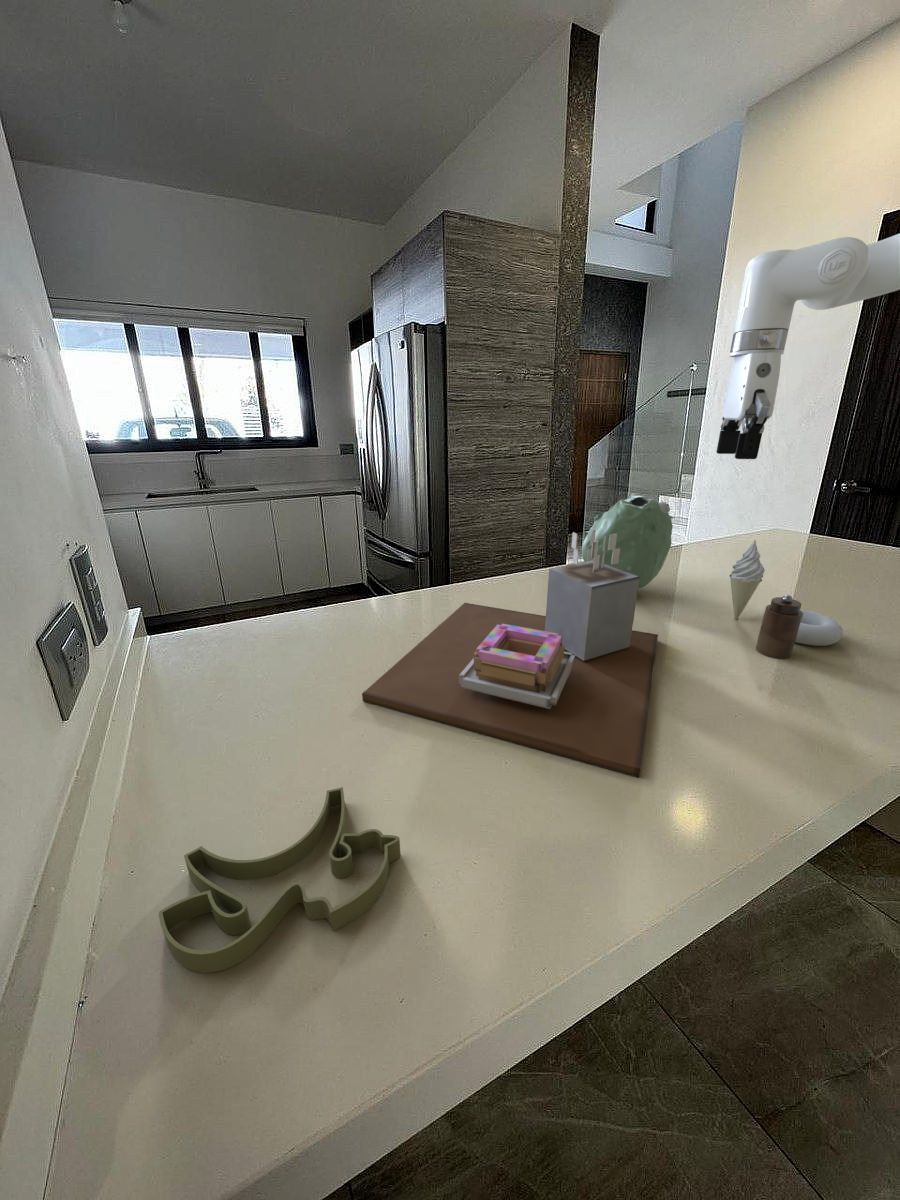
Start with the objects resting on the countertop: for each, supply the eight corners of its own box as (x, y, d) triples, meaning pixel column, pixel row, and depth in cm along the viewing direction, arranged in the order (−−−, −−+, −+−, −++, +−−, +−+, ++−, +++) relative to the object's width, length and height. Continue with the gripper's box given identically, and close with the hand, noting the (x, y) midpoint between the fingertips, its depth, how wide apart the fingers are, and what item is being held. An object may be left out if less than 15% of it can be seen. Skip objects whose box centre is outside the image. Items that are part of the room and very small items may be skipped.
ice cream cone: (757, 620, 87) (778, 540, 81) (741, 627, 85) (761, 544, 79) (730, 611, 91) (748, 534, 86) (714, 617, 89) (731, 538, 83)
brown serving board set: (638, 777, 51) (667, 612, 44) (362, 701, 64) (350, 565, 57) (656, 640, 80) (676, 528, 73) (464, 608, 94) (465, 511, 87)
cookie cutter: (360, 792, 49) (358, 777, 48) (418, 881, 40) (417, 864, 39) (160, 881, 40) (154, 864, 39) (174, 1024, 31) (166, 1005, 30)
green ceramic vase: (561, 587, 104) (569, 494, 97) (620, 572, 113) (631, 486, 106) (620, 611, 92) (633, 506, 84) (680, 591, 101) (697, 496, 94)
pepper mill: (787, 647, 77) (803, 592, 74) (793, 661, 73) (811, 603, 70) (753, 642, 79) (767, 588, 76) (757, 655, 75) (772, 598, 72)
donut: (779, 619, 88) (758, 634, 82) (784, 602, 87) (763, 615, 81) (846, 638, 81) (829, 655, 75) (853, 619, 79) (836, 635, 73)
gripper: (810, 337, 68) (780, 461, 75) (762, 350, 84) (741, 452, 90) (752, 339, 70) (728, 461, 76) (715, 351, 85) (698, 451, 92)
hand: (735, 456), depth 83 cm, fingers open, 9 cm apart
